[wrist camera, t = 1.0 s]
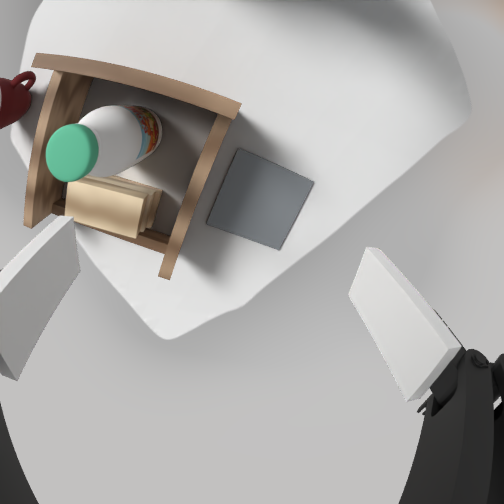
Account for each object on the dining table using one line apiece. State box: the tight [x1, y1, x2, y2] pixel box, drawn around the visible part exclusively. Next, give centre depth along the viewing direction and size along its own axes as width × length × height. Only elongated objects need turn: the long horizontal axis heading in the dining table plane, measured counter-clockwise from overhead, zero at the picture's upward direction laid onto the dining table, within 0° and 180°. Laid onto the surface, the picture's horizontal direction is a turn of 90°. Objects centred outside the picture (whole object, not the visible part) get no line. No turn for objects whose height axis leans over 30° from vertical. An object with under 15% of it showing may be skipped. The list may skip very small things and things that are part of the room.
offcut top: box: [65, 177, 148, 239], centre depth 33 cm, size 6×11×2 cm, turn 70°
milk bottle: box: [46, 105, 162, 182], centre depth 26 cm, size 8×8×20 cm
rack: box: [24, 53, 241, 280], centre depth 30 cm, size 23×23×14 cm
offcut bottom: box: [109, 175, 163, 229], centre depth 38 cm, size 6×13×2 cm, turn 68°
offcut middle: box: [85, 175, 156, 232], centre depth 35 cm, size 6×12×2 cm, turn 69°
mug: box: [0, 71, 36, 129], centre depth 23 cm, size 10×8×10 cm
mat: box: [207, 148, 314, 250], centre depth 41 cm, size 12×12×1 cm
